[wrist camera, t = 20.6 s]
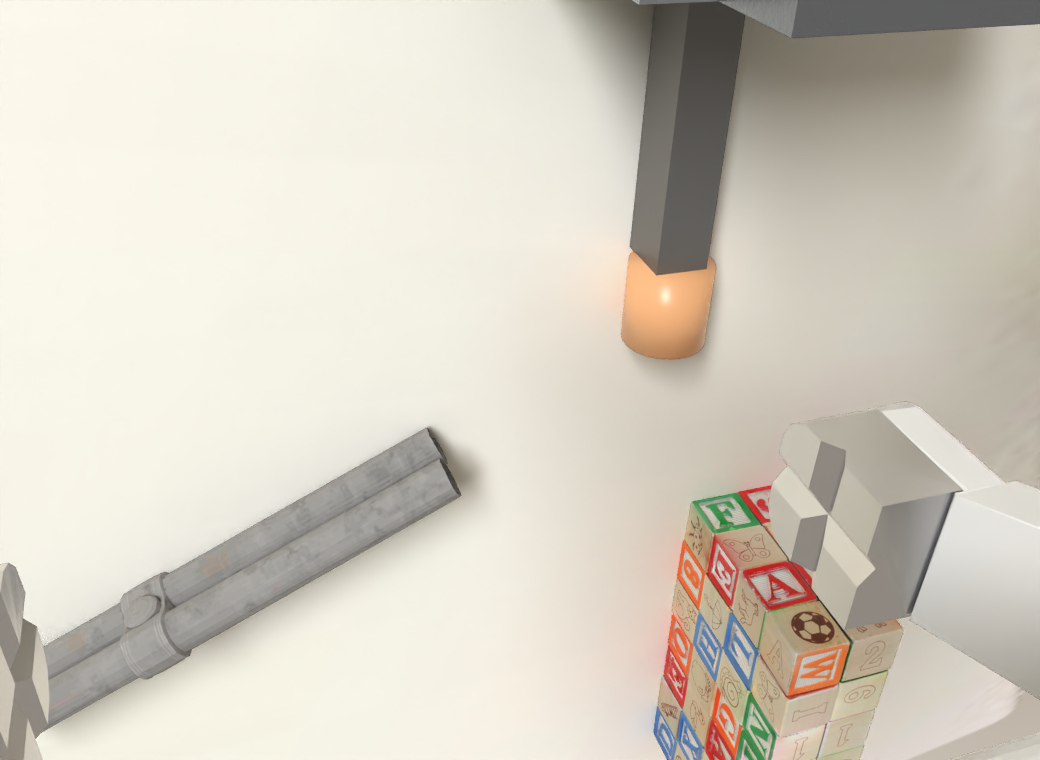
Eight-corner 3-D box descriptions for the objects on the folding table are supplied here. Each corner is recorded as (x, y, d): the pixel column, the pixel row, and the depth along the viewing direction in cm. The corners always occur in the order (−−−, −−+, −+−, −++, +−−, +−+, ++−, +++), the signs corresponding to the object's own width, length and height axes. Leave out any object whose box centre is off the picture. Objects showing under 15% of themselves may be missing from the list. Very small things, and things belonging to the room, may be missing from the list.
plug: (644, -62, 39) (689, -42, 36) (735, -65, 40) (785, -45, 37) (608, 322, 49) (641, 364, 46) (682, 311, 50) (718, 352, 47)
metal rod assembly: (419, 412, 49) (444, 474, 45) (443, 448, 50) (470, 511, 47) (-39, 672, 49) (-54, 757, 45) (1, 699, 50) (-10, 784, 46)
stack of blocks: (730, 710, 72) (824, 868, 62) (650, 731, 70) (734, 897, 60) (782, 479, 60) (909, 630, 50) (687, 498, 58) (799, 658, 48)
